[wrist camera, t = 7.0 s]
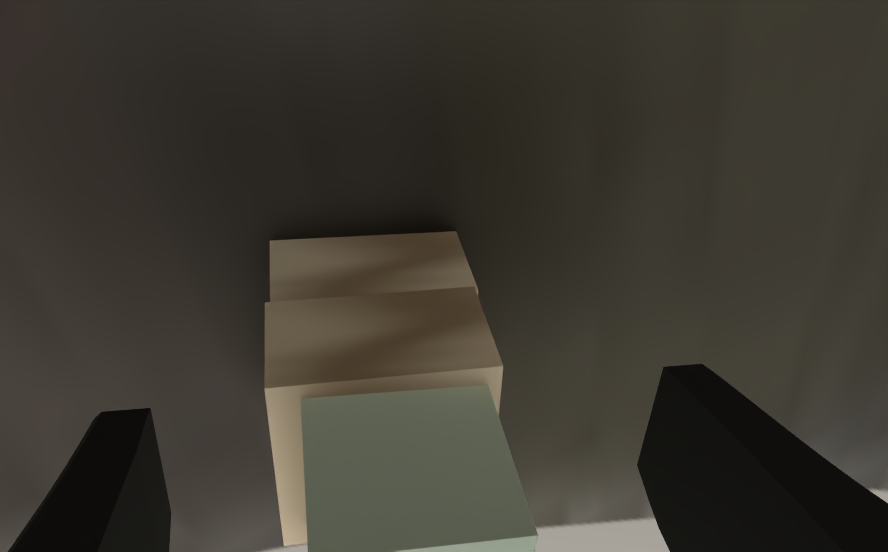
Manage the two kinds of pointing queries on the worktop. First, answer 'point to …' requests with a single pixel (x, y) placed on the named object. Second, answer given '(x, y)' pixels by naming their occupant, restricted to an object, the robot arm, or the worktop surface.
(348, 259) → the lower slab
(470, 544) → the green cube
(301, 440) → the upper slab
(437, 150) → the worktop surface
